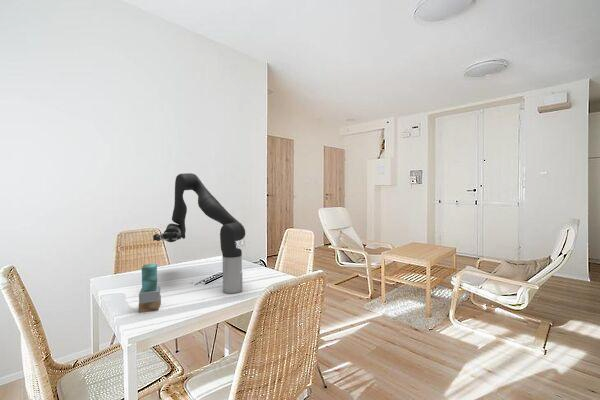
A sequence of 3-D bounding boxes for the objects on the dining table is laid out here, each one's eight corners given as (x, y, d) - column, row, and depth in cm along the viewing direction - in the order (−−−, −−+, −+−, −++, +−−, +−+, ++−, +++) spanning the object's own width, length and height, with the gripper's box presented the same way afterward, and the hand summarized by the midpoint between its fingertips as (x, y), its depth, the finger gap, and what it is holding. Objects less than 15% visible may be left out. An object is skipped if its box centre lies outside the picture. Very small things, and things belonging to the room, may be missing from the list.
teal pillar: (157, 286, 119) (156, 263, 118) (156, 290, 114) (155, 266, 114) (144, 288, 117) (143, 264, 116) (142, 292, 112) (141, 267, 112)
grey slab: (160, 295, 120) (160, 286, 120) (158, 301, 113) (158, 291, 113) (141, 297, 117) (141, 288, 117) (139, 303, 111) (138, 293, 110)
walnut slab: (160, 304, 120) (160, 295, 120) (158, 310, 113) (158, 301, 113) (142, 306, 118) (142, 297, 117) (138, 313, 111) (138, 303, 111)
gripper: (157, 227, 144) (150, 231, 129) (186, 226, 149) (183, 229, 133) (157, 241, 144) (151, 247, 129) (187, 240, 149) (184, 245, 133)
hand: (168, 238), depth 131 cm, fingers open, 8 cm apart
